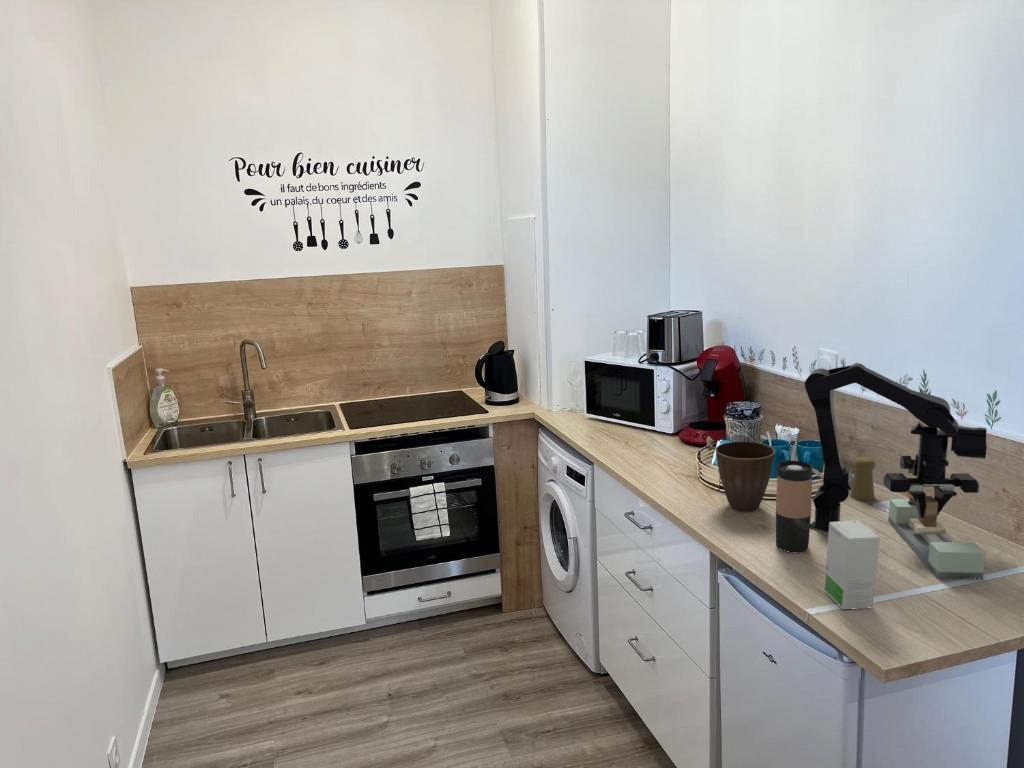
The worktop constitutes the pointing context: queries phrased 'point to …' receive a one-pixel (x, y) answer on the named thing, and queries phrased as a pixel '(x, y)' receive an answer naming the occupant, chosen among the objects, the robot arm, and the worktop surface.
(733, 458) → the plant pot
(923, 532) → the carriage
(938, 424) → the robot arm
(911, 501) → the orange knob
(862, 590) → the skincare box
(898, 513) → the rail bench
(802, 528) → the travel mug
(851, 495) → the cork
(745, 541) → the worktop surface
